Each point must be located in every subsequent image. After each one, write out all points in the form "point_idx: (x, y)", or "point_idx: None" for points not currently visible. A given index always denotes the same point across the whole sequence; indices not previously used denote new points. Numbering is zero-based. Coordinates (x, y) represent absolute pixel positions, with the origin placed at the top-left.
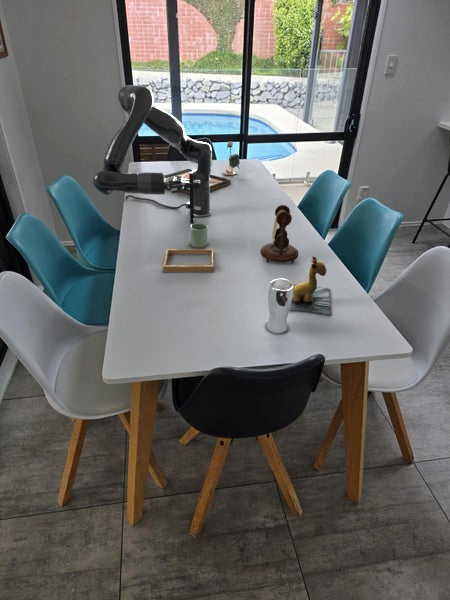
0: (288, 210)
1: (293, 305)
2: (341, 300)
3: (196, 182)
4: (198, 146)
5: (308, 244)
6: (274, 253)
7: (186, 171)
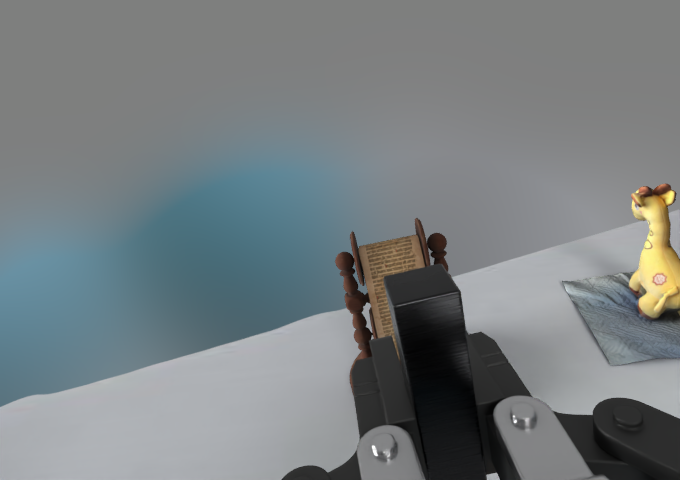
0: (356, 242)
1: None
2: (598, 264)
3: (471, 337)
4: None
5: (318, 337)
6: None
7: None
